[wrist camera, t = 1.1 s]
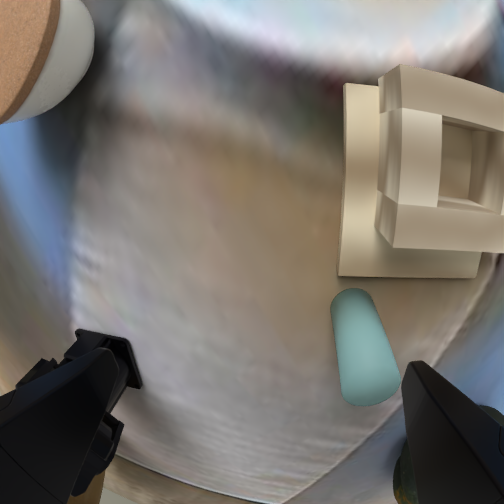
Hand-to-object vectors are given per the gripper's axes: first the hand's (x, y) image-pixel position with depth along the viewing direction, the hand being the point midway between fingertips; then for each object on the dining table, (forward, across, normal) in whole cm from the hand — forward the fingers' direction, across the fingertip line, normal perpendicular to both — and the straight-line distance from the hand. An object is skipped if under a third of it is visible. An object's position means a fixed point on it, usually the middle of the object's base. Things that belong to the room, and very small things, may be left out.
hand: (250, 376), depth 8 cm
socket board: (+13, -10, -4) cm, 16 cm away
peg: (+13, -5, +6) cm, 15 cm away
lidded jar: (+13, +16, -15) cm, 26 cm away
